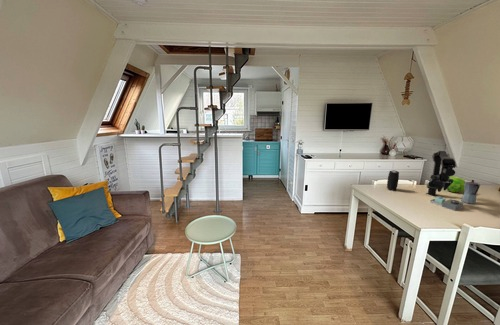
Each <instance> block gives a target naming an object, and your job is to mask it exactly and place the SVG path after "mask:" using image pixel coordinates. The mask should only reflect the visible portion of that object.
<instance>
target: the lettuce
mask: <svg viewBox="0 0 500 325" xmlns="http://www.w3.org/2000/svg"><path fill="white" fill-rule="evenodd" d="M449 179H453V180H454V182H453V183H452V184H451V185H450V186H449V187H448V188H447V189H446V190H447V191H449V192H451V193H458V192H463V191H465V182H466V181H465V180H464V179H463V178H461V177H459V176H450V177H449ZM450 183H451V182H450Z"/></svg>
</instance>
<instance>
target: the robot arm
mask: <svg viewBox="0 0 500 325" xmlns="http://www.w3.org/2000/svg"><path fill="white" fill-rule="evenodd" d="M431 158H432V162H433V163H434V164H433V168H432V174H431V176H430V177H429V178H430V179H429V180H428V182H427V184H426V189H428V191H427V192H426V193H425V194H426V195H429V196H433V197H434V196H435V197H437V196H438V194H437V192H438V193H440V192H441V191H446V190H447V188H448V187H449V186H450V185H451V184H452V183H453V182H454V180H453V179H449V177H454V176H455V174H456V170H454V169H455V168H456V166H457V163H456V161H455V159H454V158H453V157H450V156H449V155H448V154H447V151H445V150H439V151H437V152H434V153H433V154H432V157H431ZM450 182H451V183H450Z"/></svg>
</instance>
